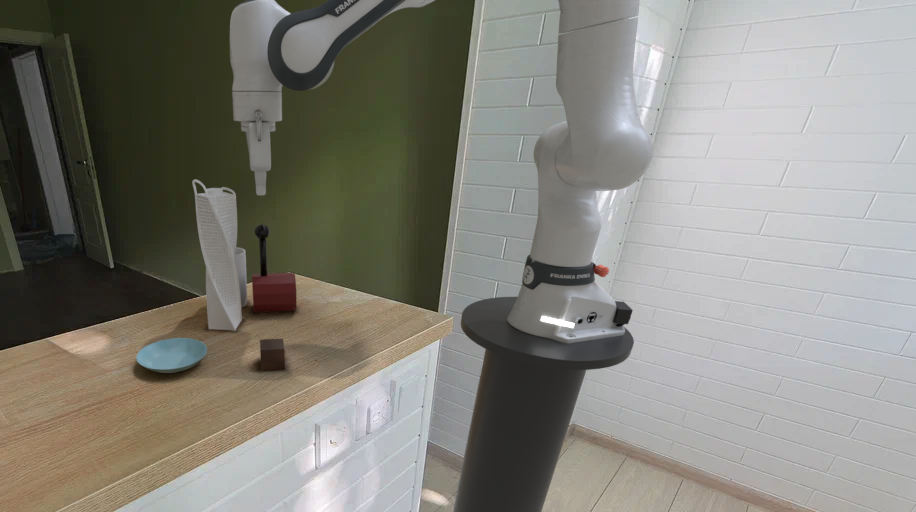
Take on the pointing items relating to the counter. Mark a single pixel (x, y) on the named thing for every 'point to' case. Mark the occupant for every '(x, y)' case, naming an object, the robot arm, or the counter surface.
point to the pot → (271, 283)
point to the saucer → (171, 355)
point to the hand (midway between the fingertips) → (260, 190)
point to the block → (272, 354)
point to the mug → (241, 274)
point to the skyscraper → (219, 255)
